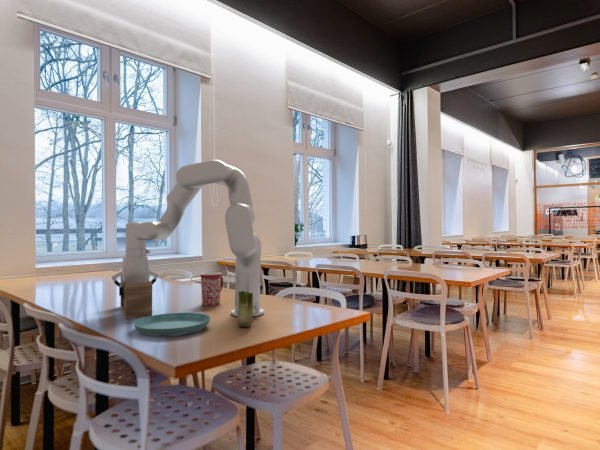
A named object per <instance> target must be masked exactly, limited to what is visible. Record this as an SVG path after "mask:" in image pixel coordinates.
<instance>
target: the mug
mask: <svg viewBox="0 0 600 450" xmlns="http://www.w3.org/2000/svg"><path fill="white" fill-rule="evenodd" d="M222 274H223V273H222V272H218V271H217V272H216V271H214V272H213V271H212V272H211V271H210V272H209V271H207V272H201V273H200V281H201V282H200V286H201V287H200V288H201V300H202V301H201V302H202V303H201V304H202V306H205V307H215V306H220V305H221V304H220V303H221V301H220V300H221V292H222V289H223V287H224V277H223V275H222Z"/></svg>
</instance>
